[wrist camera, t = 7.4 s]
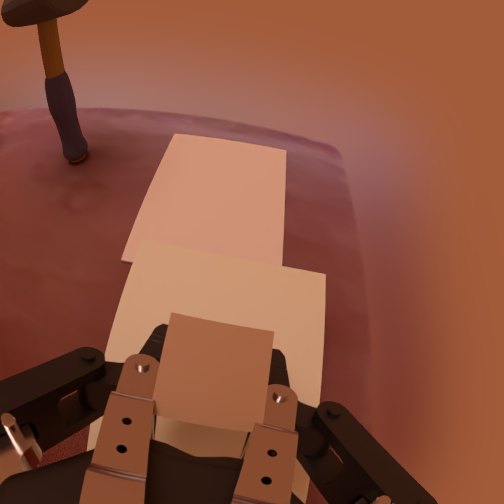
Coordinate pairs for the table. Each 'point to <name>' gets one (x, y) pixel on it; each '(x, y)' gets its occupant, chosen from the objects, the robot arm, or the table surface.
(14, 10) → the rubber mallet
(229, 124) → the table surface
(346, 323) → the table surface
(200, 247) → the mat
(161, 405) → the lid
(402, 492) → the robot arm
